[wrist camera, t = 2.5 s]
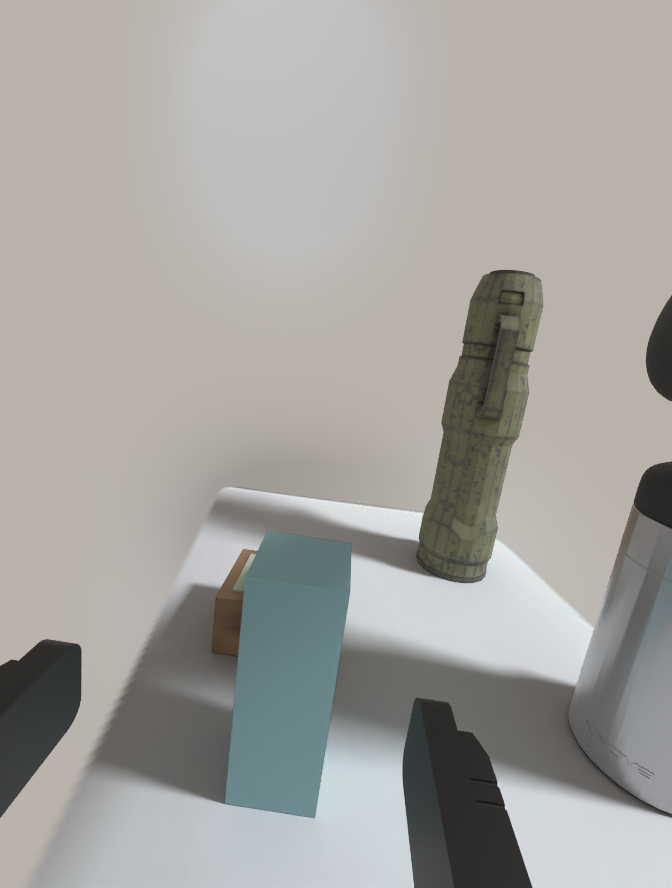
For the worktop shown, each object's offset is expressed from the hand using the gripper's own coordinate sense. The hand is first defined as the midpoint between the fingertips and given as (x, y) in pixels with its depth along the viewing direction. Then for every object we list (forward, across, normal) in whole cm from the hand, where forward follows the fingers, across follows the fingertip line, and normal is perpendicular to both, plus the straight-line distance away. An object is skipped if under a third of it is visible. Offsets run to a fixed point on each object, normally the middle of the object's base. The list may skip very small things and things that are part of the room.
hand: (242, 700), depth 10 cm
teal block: (+12, 0, +16) cm, 21 cm away
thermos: (+41, -17, +16) cm, 48 cm away
